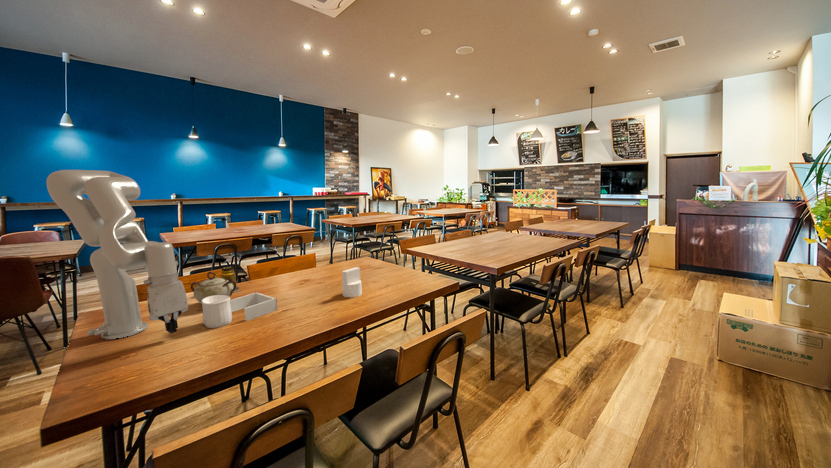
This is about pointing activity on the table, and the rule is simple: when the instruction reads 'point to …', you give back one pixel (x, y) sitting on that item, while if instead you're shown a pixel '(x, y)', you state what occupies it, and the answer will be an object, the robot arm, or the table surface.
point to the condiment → (229, 275)
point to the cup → (216, 311)
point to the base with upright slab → (351, 282)
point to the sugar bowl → (212, 287)
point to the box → (254, 305)
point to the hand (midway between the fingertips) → (172, 331)
